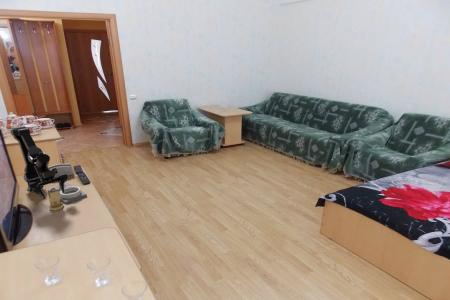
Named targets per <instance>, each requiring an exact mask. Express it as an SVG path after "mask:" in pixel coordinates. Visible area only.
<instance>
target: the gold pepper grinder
mask: <svg viewBox="0 0 450 300" xmlns="http://www.w3.org/2000/svg"><path fill="white" fill-rule="evenodd" d="M51 188H52V189H51ZM51 188H50V189H51V190H50V191H48V190H47V197H48V201H49V207H48V210H49V211H50V212H58V211H60V210H62V209H63V208H64V202H62V201H61V198H60V193H59V190H58V189H55V188H54V187H51Z"/></svg>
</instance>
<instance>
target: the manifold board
mask: <svg viewBox="0 0 450 300" xmlns="http://www.w3.org/2000/svg"><path fill="white" fill-rule="evenodd" d="M52 188H55V189H58V190H59V193H60V198H61V203H63V204H66V205H68V204H70V202H71V203H72V202H76V201H79V200H81V199H84V198H86V197H87V196H88V195H87V193H86V192H84V191H82V190H81V187H79V186H73V185H72V184H71V183H69V182H67V183H66V182H65V183H64V193H63V192H62V190H61V188H60V186H59V184H58V186H55V187H51V188H48V189H47V192H48V191H50V190H51V189H52ZM75 200H76V201H75Z"/></svg>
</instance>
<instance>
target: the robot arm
mask: <svg viewBox="0 0 450 300" xmlns="http://www.w3.org/2000/svg"><path fill="white" fill-rule="evenodd" d="M10 135H11V136H12V137H13V139H14V140H15V141H17V143H18V145H19V147H20V150H21V154H22V157H23V161H24V163H25V167H24V170H23V172H24V173H23V180H24V181H25V182H26V183H27V189H26V190H27V191H28V192H29V193H31V192H32V193H35V194H36V195H38V196H40V197H41V198H42V199H44V200H46V196H45V193H44V191H43V190H42V189H41V188H43V187H45V186H47V185H50V184H54V183H58V185H59V186H60V188H61V190H62V192H63V193H64V184H66V182H67V181H68V179H69V175H67V174H62V175H59V176H58V177H55V178H54V176H55V174H57V173H58V171H57V169H56V168H53V169H52V170H51V171H50V169H49V168H48V167H49V163H50V160H51V156H50V155H48V154H46V152H44V151H43V150H42V149H41V147H38V146H37V144H36V142H35V140H34V139H33V137H32V135H31V130H30V127H27V126H25V125H22V126H21V125H20V126H14V127H12V129H10Z"/></svg>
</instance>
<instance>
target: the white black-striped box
mask: <svg viewBox="0 0 450 300" xmlns="http://www.w3.org/2000/svg"><path fill="white" fill-rule="evenodd" d="M48 168H49V169H50V171H51V170H52V169H53V168H56V169H57V171H58V173H57V174H55V176H54V178H53V179H55V178H58V176H59V175H62V174H67V176H69V175H74V169H73V168H72V165H71V163H57V164H53V165H51V166H48Z"/></svg>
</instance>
